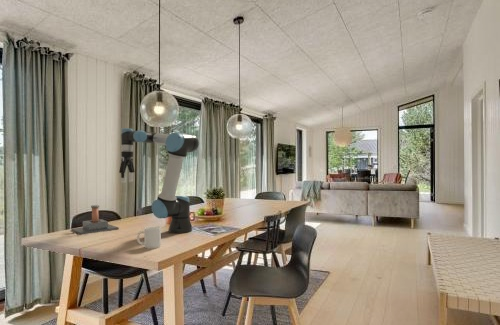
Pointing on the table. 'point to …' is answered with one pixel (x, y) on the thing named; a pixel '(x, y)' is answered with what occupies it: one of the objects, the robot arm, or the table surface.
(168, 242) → the table surface
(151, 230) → the cup
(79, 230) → the hitch plate
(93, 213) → the pin
